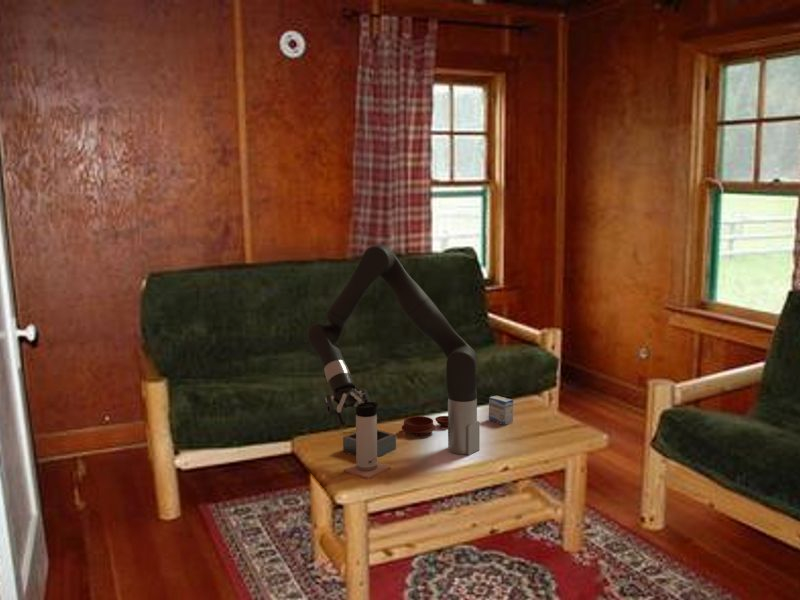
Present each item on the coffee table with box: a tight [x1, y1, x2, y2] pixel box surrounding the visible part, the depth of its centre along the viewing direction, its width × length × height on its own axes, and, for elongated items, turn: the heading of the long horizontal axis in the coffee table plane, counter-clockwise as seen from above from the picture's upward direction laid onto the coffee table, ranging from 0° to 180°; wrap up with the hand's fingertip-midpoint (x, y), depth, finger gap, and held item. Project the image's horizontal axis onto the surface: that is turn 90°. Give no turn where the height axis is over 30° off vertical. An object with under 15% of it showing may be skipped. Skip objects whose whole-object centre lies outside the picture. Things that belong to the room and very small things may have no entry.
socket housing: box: [342, 429, 397, 458], centre depth 231 cm, size 12×12×5 cm
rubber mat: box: [343, 461, 392, 480], centre depth 216 cm, size 10×10×1 cm
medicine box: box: [488, 395, 514, 426], centre depth 257 cm, size 8×4×9 cm, turn 43°
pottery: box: [401, 415, 448, 437], centre depth 250 cm, size 12×20×4 cm, turn 123°
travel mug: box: [355, 401, 379, 471], centre depth 215 cm, size 6×7×20 cm
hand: (356, 422), depth 220 cm, fingers open, 8 cm apart
